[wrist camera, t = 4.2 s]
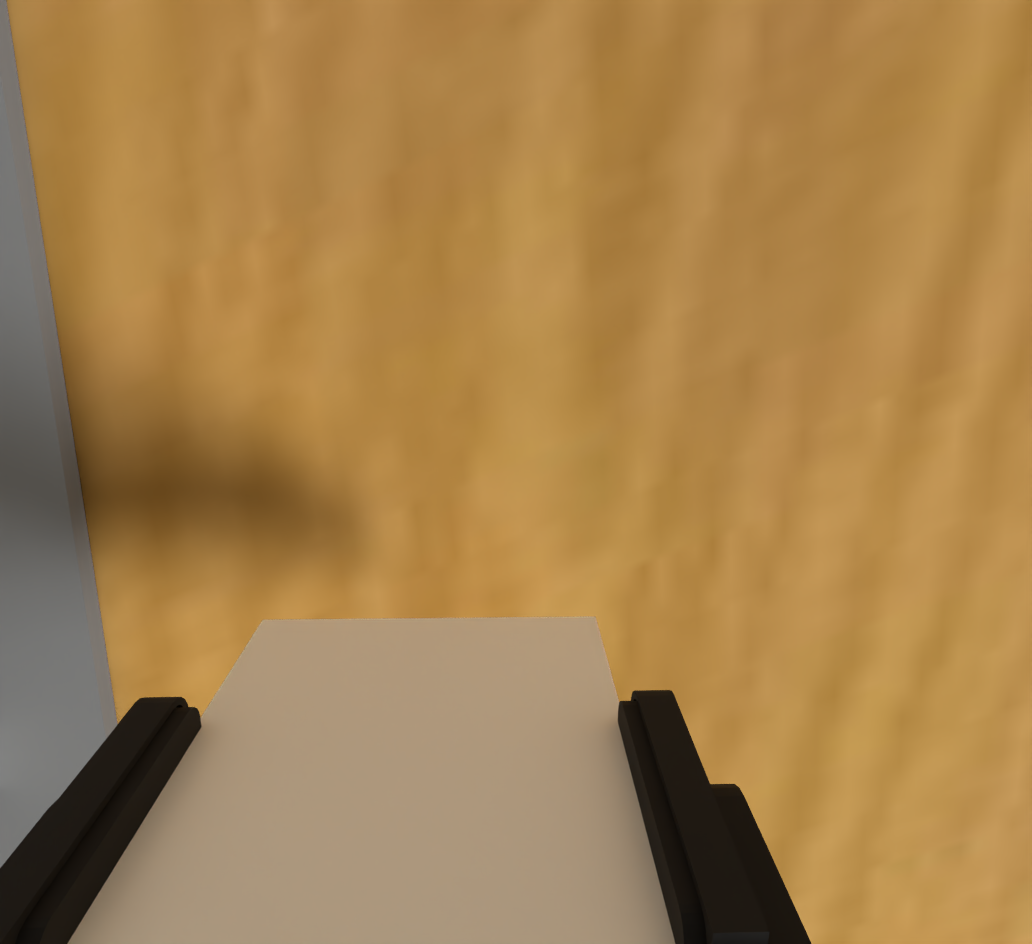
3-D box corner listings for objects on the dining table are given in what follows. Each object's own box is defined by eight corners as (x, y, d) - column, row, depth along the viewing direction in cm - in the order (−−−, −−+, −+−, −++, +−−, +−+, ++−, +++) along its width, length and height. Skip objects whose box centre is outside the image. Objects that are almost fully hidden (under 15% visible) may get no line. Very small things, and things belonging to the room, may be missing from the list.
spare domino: (262, 619, 13) (-686, 2117, 3) (595, 616, 13) (977, 2008, 3) (272, 715, 14) (-468, 2259, 3) (591, 711, 14) (897, 2161, 3)
